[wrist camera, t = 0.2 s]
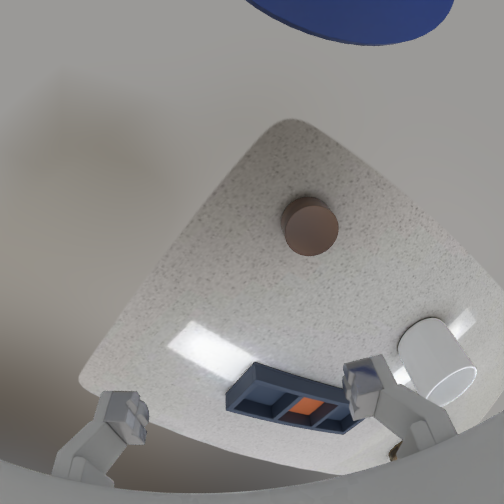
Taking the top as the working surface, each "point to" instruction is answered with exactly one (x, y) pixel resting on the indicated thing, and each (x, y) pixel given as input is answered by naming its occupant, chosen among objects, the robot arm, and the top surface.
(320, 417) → the grid
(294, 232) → the cylinder
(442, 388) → the mug
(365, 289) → the top surface
